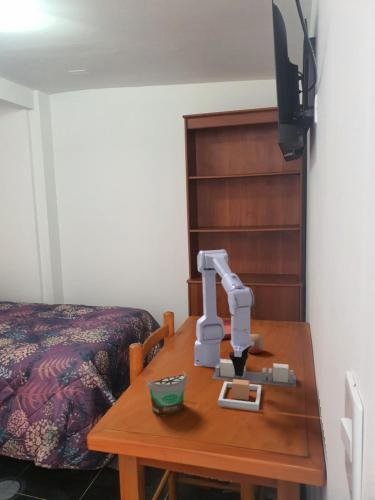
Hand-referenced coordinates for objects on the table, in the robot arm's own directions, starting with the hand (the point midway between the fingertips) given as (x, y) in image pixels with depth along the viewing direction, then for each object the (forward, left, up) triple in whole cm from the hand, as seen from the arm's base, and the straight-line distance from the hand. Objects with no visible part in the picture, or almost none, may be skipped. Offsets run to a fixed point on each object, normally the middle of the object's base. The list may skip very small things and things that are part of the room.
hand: (240, 369), depth 117 cm
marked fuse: (0, 0, -9) cm, 9 cm away
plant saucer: (-14, +58, -10) cm, 60 cm away
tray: (0, 0, -9) cm, 9 cm away
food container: (-19, -12, -10) cm, 24 cm away
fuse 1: (-6, +14, -9) cm, 18 cm away
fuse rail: (+3, +14, -9) cm, 17 cm away
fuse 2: (+12, +14, -9) cm, 20 cm away
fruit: (+1, +37, -10) cm, 38 cm away
